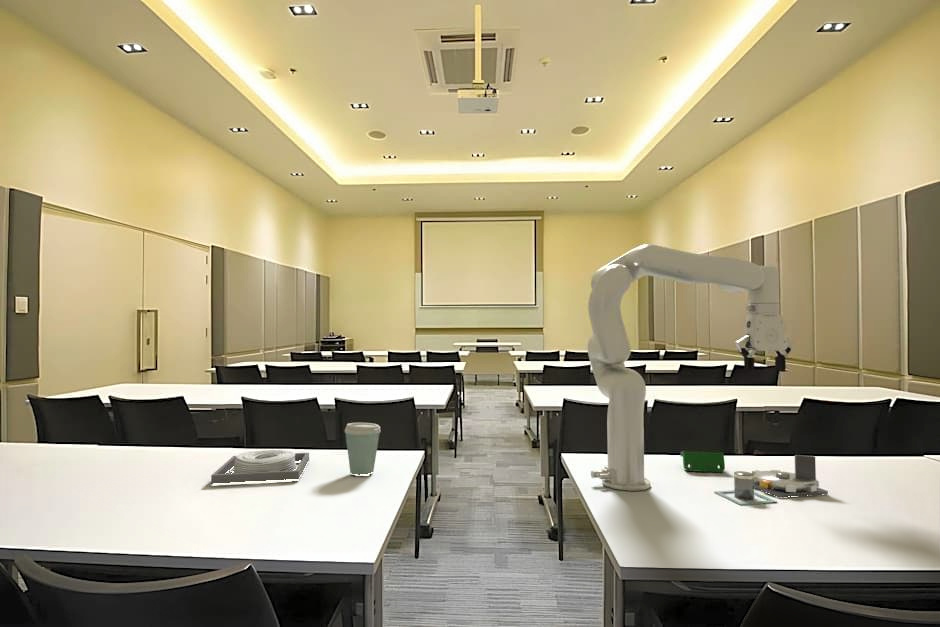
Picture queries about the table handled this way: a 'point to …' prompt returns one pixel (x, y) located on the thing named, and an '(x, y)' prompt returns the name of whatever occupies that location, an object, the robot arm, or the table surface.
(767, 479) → the sprocket
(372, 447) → the disposable coffee cup
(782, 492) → the sprocket base
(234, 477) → the cable tray
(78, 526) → the table surface
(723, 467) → the green mounting bracket
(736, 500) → the seat bay
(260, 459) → the cable
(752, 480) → the silver metal cylinder
